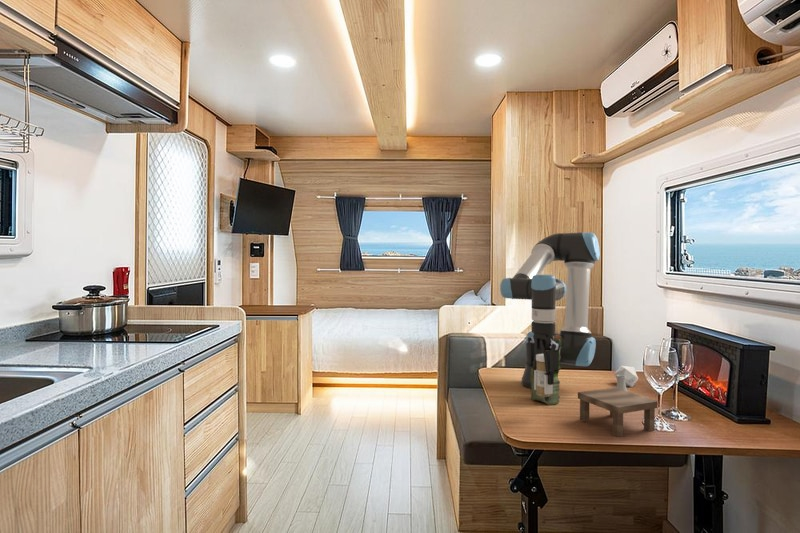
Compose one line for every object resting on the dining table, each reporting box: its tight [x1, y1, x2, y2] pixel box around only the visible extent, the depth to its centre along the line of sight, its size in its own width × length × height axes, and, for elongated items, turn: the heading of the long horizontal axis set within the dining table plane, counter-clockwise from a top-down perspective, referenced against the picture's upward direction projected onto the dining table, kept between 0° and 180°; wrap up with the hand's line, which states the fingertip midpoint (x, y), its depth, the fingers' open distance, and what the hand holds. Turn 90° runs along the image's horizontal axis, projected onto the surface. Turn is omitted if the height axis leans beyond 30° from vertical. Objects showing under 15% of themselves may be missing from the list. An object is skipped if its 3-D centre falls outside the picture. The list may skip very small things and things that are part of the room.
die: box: [614, 365, 639, 388], centre depth 183 cm, size 8×9×10 cm
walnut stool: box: [577, 386, 658, 438], centre depth 137 cm, size 16×16×9 cm
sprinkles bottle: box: [536, 354, 551, 397], centre depth 143 cm, size 5×5×13 cm
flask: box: [615, 375, 629, 392], centre depth 159 cm, size 7×7×10 cm
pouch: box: [530, 335, 562, 406], centre depth 161 cm, size 11×12×25 cm
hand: (543, 391), depth 143 cm, fingers closed on sprinkles bottle, 4 cm apart
